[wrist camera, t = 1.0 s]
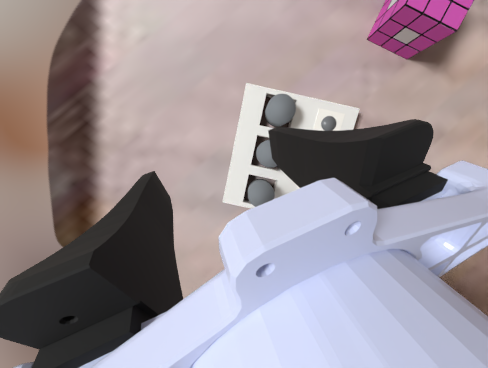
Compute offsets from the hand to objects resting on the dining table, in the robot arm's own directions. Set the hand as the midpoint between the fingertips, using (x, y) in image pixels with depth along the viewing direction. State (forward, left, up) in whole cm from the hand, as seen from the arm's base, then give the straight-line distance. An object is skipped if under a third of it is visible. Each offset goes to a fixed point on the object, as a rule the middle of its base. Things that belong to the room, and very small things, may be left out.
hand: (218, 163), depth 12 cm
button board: (-7, -1, -14) cm, 16 cm away
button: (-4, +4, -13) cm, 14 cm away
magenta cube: (-16, -19, -14) cm, 29 cm away
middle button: (-4, -1, -13) cm, 14 cm away
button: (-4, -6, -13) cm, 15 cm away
